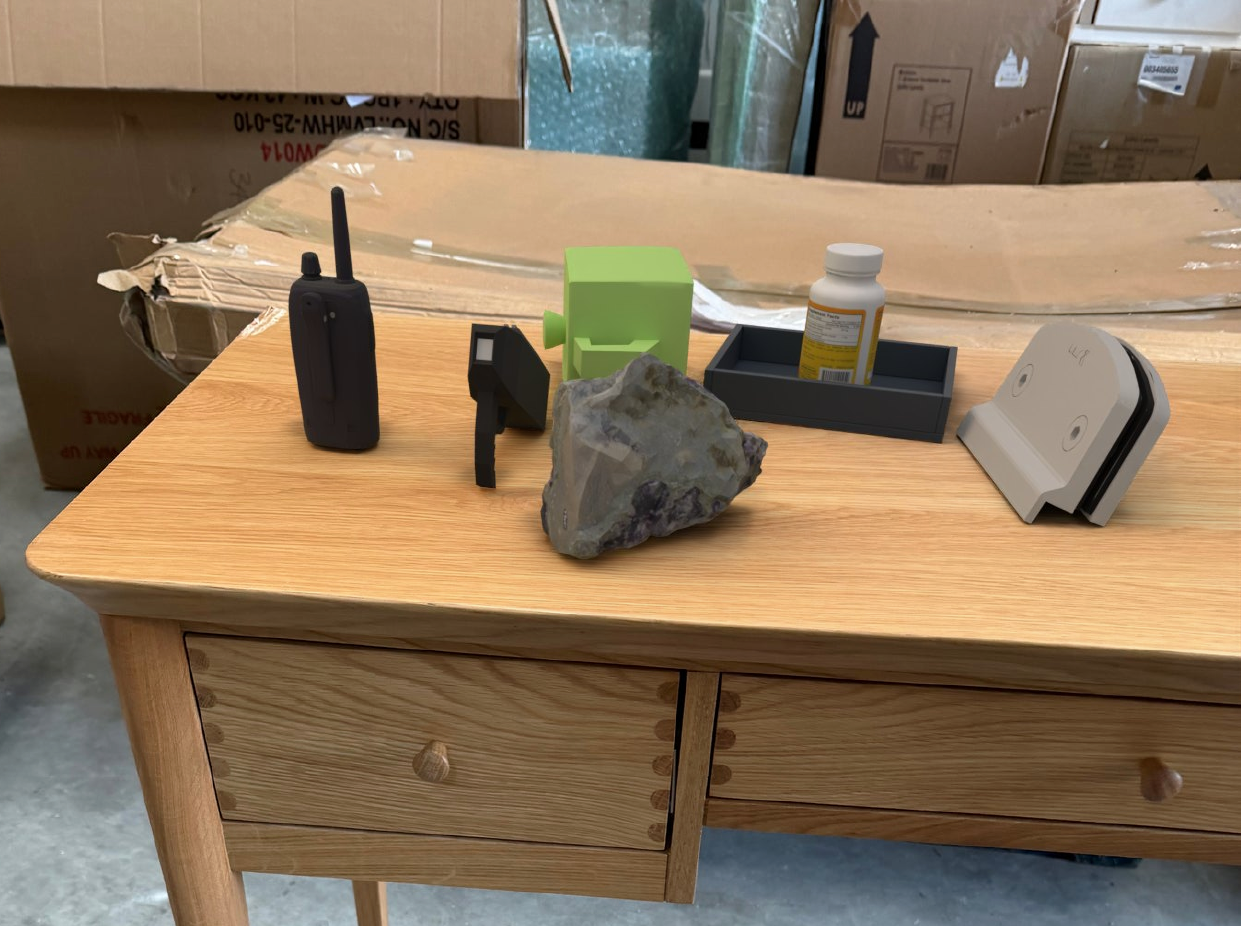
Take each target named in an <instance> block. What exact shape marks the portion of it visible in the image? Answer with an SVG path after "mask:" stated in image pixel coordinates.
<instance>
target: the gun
mask: <svg viewBox="0 0 1241 926" xmlns="http://www.w3.org/2000/svg"><path fill="white" fill-rule="evenodd" d="M510 326H511V327H510ZM510 326H509V324H507V323H503V325H497V324H486V323H485V324H484V323H471V328H470V329H471V330H470V340H469V341H470V342H469V354H468V367H467V384H468V391H469V397H470V398H472V400H473V401H474V402H475V403H476V408H475V411H476V412H475V425H474V476H475V479H474V480H475V485H476V486H477V487H479V488H484V489H493V490H494V489H497V478H496V476H497V475H496V469H495V468H496V456H495V455H496V450H497V449H496V436H497V435H500V436H501V435H503V434H504V433H505V430H506V429H513V430H524V431H525V430H526V431H534V432H535V431H537V432H546V425H547V414H548V405H549V395H550V383H551V372H549V370H548V368H547V366H546V365H545V364H544V362H543V360H542V358H541V357H540V355H539V354H538V353H537V351H536V349H535V348H534V347H533V346H532V344H531V343H530V341H529V339H527V337H526V335H525V334H524V333H523V331H521V329H520V328H519V327H518V326H517V325H516V324H511V325H510Z"/></svg>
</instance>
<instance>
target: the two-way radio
mask: <svg viewBox="0 0 1241 926" xmlns="http://www.w3.org/2000/svg"><path fill="white" fill-rule="evenodd" d="M330 203H331V205H330V206H331V223H332V237H333V238H332V239H333V252H334V266H335V276H327V275H322V267H321V264H320V260H319V257H318V254H317V253H316V252H314V251H306V252H303V253H302V254H301V263H300V273H301V274H302V275H301V276H300V277H299V278H298V279H296V280H294V281H293V282H292V284H291V286H290V289H289V295H288V303H287V304H288V306H287V307H288V308H287V309H288V320H289V334H290V335H289V336H290V343H291V350H292V358H293V366H294V372H295V377H296V383H297V391H298V397H299V403H300V409H301V415H302V423H303V431H304V435H305V437H306V440H307V442H309V443H311V444H313V445H315V446H323V447H329V448H337V449H346V450H358V451H361V452H362V451H364V450H365V449H367V448H372V447H374V446H376V445H378V443H379V441H380V440H381V429H380V405H379V403H380V401H379V400H380V398H379V384H378V383H379V382H378V371H377V370H378V369H377V357H376V346H377V345H376V332H375V331H376V330H375V322H374V315H373V311H372V306H371V300H370V295H369V291H368V287H367V286H366V284H365V283H364V282H363V281H361V280H360V279H356V278H355V276H354V271H353V262H352V261H353V259H352V250H351V240H350V231H349V223H348V215H347V206H346V205H347V204H346V198H345V191H344V189H343V188H342V187H340V186H338V185H337V186H336V185H335V186H334V187H332V188H331V191H330Z"/></svg>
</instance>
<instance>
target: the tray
mask: <svg viewBox="0 0 1241 926" xmlns="http://www.w3.org/2000/svg"><path fill="white" fill-rule="evenodd" d="M803 336H804V330H802V329H792V328H782V327H774V326H773V327H771V326H762V325H755V324H754V325H753V324H743V323H736V324H735V325H734V327H733V328H732V330H731V331H730V333H729V334H728V336H727V337H726V339H725V340H724V341H723V343H722V344H721V345H720V347H719V348H718V350H717V351H716V353H715V354H714V356H713V358H711V360H710V362H709V363H708V365H707V366H706V367H705V368H704V375H703V384H702V386H703V387H704V388H706V389H707V390H709V391H710V392H711V393H712V394H714V395H715V396H716V397H717V398H718V399H719V400H721V401H722V402H724V403H725V405H726V406H727V408H728V410H729V413H730V415H731V416H732V417H733V419H739V420H745V421H746V420H747V421H755V422H764V423H773V424H779V425H789V426H797V427H805V428H812V429H820V430H821V429H822V430H830V431H837V432H847V433H854V434H861V435H862V434H863V435H871V436H878V437H888V438H894V439H895V438H897V439H904V440H912V441H922V442H929V443H937V444H939V443H940V444H942V443H943V439H944V435H945V431H946V427H947V421H948V418H949V414H950V413H949V412H950V410H951V409H950V408H951V404H952V400H953V393H954V385H955V384H954V383H955V375H956V368H957V367H956V366H957V360H958V359H957V358H958V349H959V347H958V346H952V345H943V344H936V343H935V344H933V343H925V342H914V341H905V340H896V339H886V338H878V343H877V348H876V354H875V360H874V365H873V371H872V377H871V383H870V386H866V385H858V384H849V383H840V382H831V381H822V380H813V379H805V378H798V372H799V365H800V358H801V351H802V344H803Z"/></svg>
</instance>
